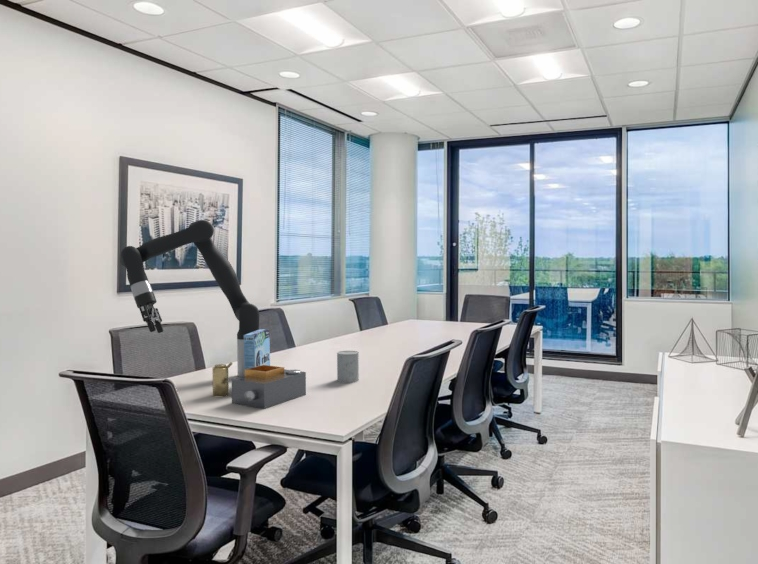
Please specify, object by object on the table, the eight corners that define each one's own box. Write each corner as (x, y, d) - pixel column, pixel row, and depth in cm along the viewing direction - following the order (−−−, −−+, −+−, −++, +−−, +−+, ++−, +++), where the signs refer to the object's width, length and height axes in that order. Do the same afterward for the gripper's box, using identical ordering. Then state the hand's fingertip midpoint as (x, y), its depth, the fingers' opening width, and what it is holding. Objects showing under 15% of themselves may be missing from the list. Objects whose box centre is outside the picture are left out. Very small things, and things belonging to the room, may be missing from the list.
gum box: (255, 391, 228) (254, 335, 227) (243, 391, 228) (242, 335, 227) (271, 381, 247) (270, 329, 246) (259, 380, 248) (259, 328, 247)
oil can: (210, 396, 219) (210, 363, 219) (215, 393, 225) (214, 361, 225) (230, 396, 219) (230, 363, 219) (234, 393, 225) (234, 360, 225)
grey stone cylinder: (362, 379, 251) (362, 351, 250) (352, 383, 242) (352, 355, 241) (343, 377, 255) (343, 350, 254) (333, 381, 246) (332, 353, 245)
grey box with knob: (274, 389, 230) (274, 361, 230) (305, 394, 222) (305, 365, 222) (225, 404, 207) (225, 373, 207) (258, 410, 199) (258, 378, 199)
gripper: (145, 288, 219) (160, 327, 217) (158, 292, 233) (172, 329, 231) (127, 296, 218) (141, 334, 217) (141, 299, 232) (154, 336, 231)
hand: (157, 331), depth 224 cm, fingers open, 8 cm apart
